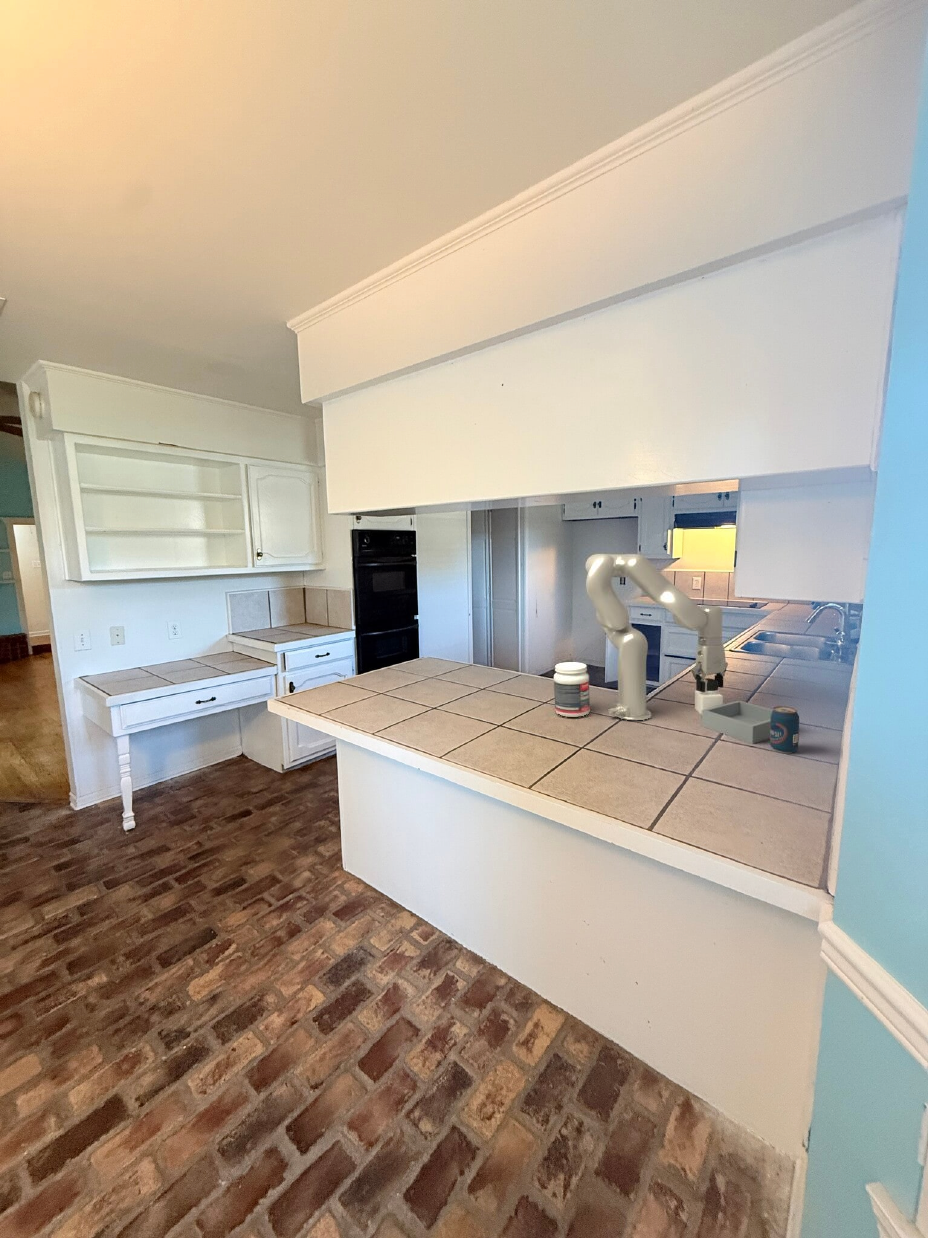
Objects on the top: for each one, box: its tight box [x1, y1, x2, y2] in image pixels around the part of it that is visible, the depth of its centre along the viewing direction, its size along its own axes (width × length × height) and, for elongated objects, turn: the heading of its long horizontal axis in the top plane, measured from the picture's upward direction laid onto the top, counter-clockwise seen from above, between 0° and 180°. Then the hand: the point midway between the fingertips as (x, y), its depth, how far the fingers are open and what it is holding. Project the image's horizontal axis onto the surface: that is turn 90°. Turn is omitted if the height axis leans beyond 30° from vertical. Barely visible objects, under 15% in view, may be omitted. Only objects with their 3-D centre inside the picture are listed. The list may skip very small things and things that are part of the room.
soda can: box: [769, 705, 800, 754], centre depth 141 cm, size 7×7×12 cm
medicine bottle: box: [694, 677, 724, 715], centre depth 175 cm, size 7×7×12 cm
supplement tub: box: [553, 661, 591, 717], centre depth 182 cm, size 13×13×18 cm
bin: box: [700, 700, 773, 745], centre depth 158 cm, size 18×18×6 cm
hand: (709, 688), depth 174 cm, fingers open, 8 cm apart
